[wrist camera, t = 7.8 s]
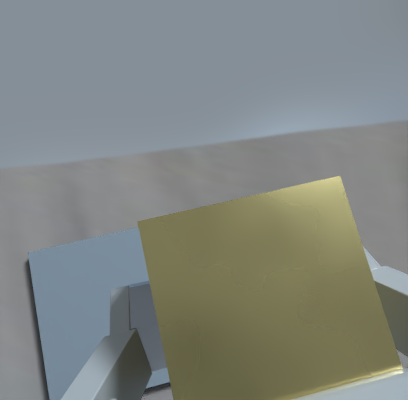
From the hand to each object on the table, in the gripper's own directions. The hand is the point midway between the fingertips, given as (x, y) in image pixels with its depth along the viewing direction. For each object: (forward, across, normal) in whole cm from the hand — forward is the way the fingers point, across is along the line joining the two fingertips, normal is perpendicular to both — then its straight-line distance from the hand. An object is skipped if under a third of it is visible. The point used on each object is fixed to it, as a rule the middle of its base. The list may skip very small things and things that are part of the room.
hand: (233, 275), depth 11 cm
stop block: (+2, 0, +3) cm, 4 cm away
